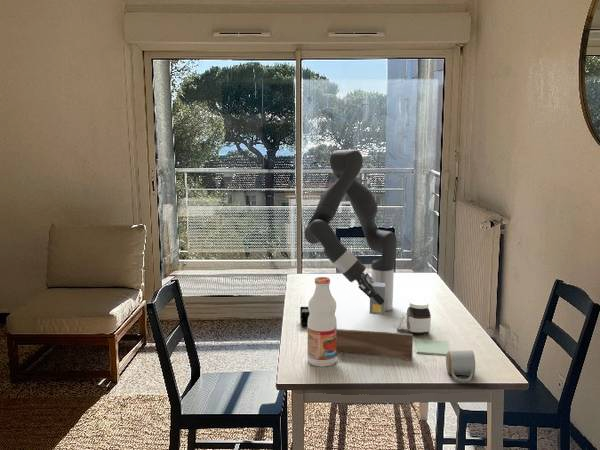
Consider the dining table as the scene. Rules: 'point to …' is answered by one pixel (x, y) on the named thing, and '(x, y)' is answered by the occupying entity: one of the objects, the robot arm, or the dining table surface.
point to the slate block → (374, 306)
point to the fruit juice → (322, 325)
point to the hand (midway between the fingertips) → (382, 300)
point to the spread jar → (417, 318)
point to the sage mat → (432, 347)
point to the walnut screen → (374, 343)
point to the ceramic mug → (461, 364)
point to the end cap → (304, 316)
